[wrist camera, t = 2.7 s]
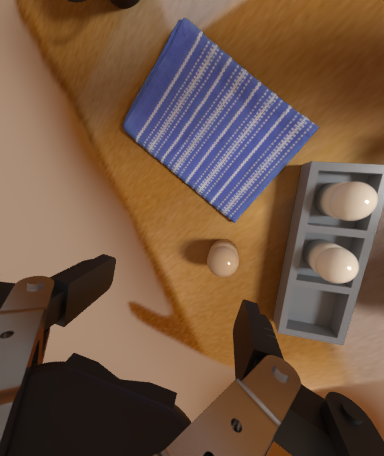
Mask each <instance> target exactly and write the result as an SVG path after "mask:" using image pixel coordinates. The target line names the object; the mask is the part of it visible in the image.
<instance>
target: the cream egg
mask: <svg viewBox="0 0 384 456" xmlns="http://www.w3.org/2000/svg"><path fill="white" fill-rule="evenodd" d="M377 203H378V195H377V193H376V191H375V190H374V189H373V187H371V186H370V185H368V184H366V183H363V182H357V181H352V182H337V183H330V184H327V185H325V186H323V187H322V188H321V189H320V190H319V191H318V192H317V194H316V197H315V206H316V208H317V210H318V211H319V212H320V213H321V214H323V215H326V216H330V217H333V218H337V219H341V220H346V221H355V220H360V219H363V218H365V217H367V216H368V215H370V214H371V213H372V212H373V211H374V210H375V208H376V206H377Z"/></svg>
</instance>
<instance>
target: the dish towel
mask: <svg viewBox="0 0 384 456" xmlns="http://www.w3.org/2000/svg"><path fill="white" fill-rule="evenodd" d="M123 128H124V130H125V131H126V132H127V133H128V134H129V135H130V136H131V137H132V138H133V139H134V140H135V141H136V142H137V143H138V144H140V145H141V146H142V147H143V148H145V149H146V150H147V151H148V152H149V153H150V154H152V155H153V156H154V157H155V158H156V159H158V160H159V161H160V162H161V163H162V164H164V165H165V166H166V167H168V168H169V169H170V170H171V171H172V172H173V173H174V174H176V175H177V176H178V177H179V178H181V179H182V180H183V181H184V182H185V183H186V184H188V185H189V186H190V187H192V188H193V189H194V190H195V191H196V192H197V193H198V194H200V195H201V196H202V197H203V198H204V199H206V200H207V201H208V202H209V203H210V204H211V205H213V206H214V207H215V208H216V209H218V210H219V211H220V212H221V213H222V214H223V215H225V216H227V217H228V218H229V219H230V220H231V221H233V222H234V223H235V222H236V220H237V219H238V218H239V217H240V216H241V214H242V213H243V212H244V211H245V210H246V209H247V208H248V206H249V205H250V204H251V203H252V202H253V201H254V200H255V199H256V198H257V197H258V196H259V195H260V193H261V192H262V191H263V190H264V189H265V188H266V187H267V185H268V184H269V183H270V182H271V181H272V180H273V179H274V178H275V177H276V176H277V175H278V173H279V172H280V171H281V170H282V169H283V168H284V167H285V166H286V164H287V163H288V162H289V161H290V160H291V159H292V158H293V157H294V156H295V154H296V153H297V152H298V151H299V150H300V149H301V148H302V147H303V145H304V144H305V143H306V142H307V141H308V140H309V138H310V137H311V136H312V135H313V134H314V133H315V132H316V130H317V129H318V128H319V127H318V126H317V125H315V124H314V123H313V122H311V121H310V120H309V119H308V118H307V117H305V116H304V115H302V114H300V113H299V112H297V111H295V110H294V109H293V108H292V107H291V106H290V105H288V104H287V103H286V102H284V101H283V100H282V99H281V98H279V97H278V96H277V94H275V93H274V92H272V91H271V90H270V89H268V88H267V87H266V86H265V85H263V84H262V83H261V82H260V81H259V80H257V79H256V78H255V77H253V76H252V75H251V74H249V73H248V72H247V70H246V69H244V68H243V67H241V66H240V65H239V64H238V63H236V62H235V61H234V60H233V59H232V58H231V57H230V56H229V55H228V54H226V53H225V52H224V51H222V50H221V49H220V48H219V47H218V45H217V44H215V43H213V42H212V41H211V40H210V39H209V38H207V37H206V36H205V34H204V33H203V32H202V31H201V30H199V29H198V28H197V27H196V26H195V25H194V24H193V23H191V22H190V21H189V20H188V19H186V18H184V19H183V20H179V21H178V23H177V25H176V26H175V28H174V29H173V31H172V33H171V35H170V37H169V39H168V41H167V43H166V45H165V47H164V48H163V50H162V52H161V54H160V56H159V58H158V60H157V62H156V64H155V65H154V67H153V69H152V71H151V72H150V74H149V76H148V77H147V79H146V81H145V82H144V84H143V86H142V88H141V90H140V91H139V93H138V95H137V97H136V98H135V100H134V102H133V104H132V106H131V108H130V110H129V112H128V113H127V115H126V118H125V121H124V123H123Z"/></svg>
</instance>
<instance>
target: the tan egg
mask: <svg viewBox="0 0 384 456" xmlns="http://www.w3.org/2000/svg"><path fill="white" fill-rule="evenodd" d="M207 265H208V268H209V269H210V271H211V272H212V273H213V274H214V275H216V276H219V277H228V276H230V275H232V274H233V273H234V272H235V271H236V270H237V268H238V265H239V258H238V251H237V247H236V246H235V244H234V243H233V242H231V241H230V240H227V239H219V240H217V241H215V242H214V243H213V244H212V245H211V247H210V250H209V254H208V257H207Z"/></svg>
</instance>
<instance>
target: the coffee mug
mask: <svg viewBox="0 0 384 456" xmlns="http://www.w3.org/2000/svg"><path fill="white" fill-rule="evenodd" d="M68 1H70V2H82V1H85V0H68ZM110 1H111V2H112V3H113V4H114V5H115V6H117V7H119V8H130V7H132V6H134V5H135V4H137V3H138V2H139V0H110Z"/></svg>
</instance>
